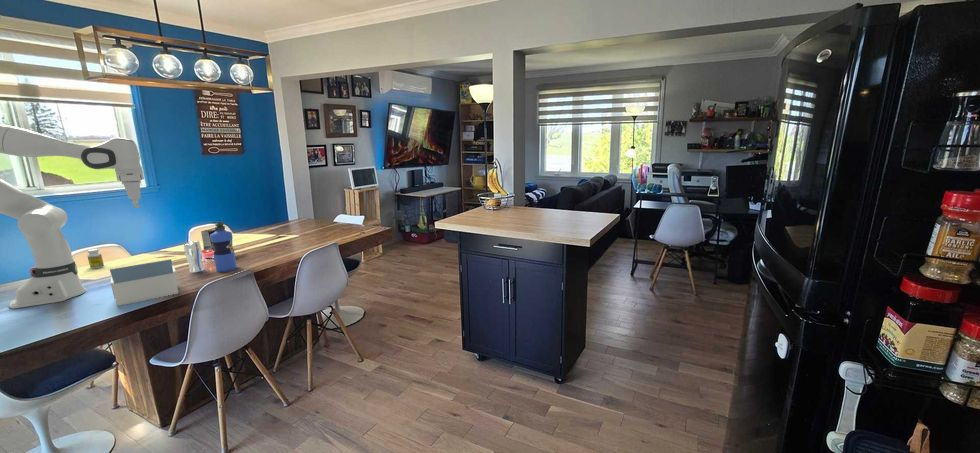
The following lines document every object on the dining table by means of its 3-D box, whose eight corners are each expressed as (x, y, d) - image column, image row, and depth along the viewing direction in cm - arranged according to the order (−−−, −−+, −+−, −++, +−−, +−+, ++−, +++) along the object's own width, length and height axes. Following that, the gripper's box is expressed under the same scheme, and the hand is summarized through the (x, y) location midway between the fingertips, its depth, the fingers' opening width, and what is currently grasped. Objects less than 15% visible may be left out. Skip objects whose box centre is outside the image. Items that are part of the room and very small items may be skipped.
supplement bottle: (103, 264, 221) (100, 247, 219) (104, 266, 217) (100, 249, 215) (90, 267, 218) (86, 249, 216) (90, 269, 214) (86, 251, 212)
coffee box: (214, 259, 229) (209, 231, 225) (205, 258, 230) (200, 231, 226) (227, 254, 237) (223, 227, 234) (218, 254, 239) (214, 227, 235)
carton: (115, 306, 164) (110, 283, 162) (116, 296, 175) (111, 274, 173) (180, 293, 178) (175, 271, 176) (177, 284, 188) (173, 264, 186)
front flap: (113, 282, 163) (114, 283, 163) (109, 269, 157) (109, 270, 157) (173, 272, 175) (173, 273, 175) (171, 259, 169) (171, 260, 169)
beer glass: (191, 274, 203) (185, 245, 200) (186, 271, 208) (181, 243, 204) (207, 270, 209) (202, 242, 206) (202, 267, 213) (197, 240, 210)
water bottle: (213, 273, 204) (204, 224, 199) (219, 267, 213) (212, 221, 208) (233, 271, 207) (226, 223, 201) (239, 265, 216) (232, 219, 210)
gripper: (120, 175, 180) (127, 205, 183) (120, 178, 165) (127, 211, 168) (139, 174, 184) (145, 204, 187) (140, 176, 169) (147, 209, 172)
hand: (136, 207), depth 178 cm, fingers closed
